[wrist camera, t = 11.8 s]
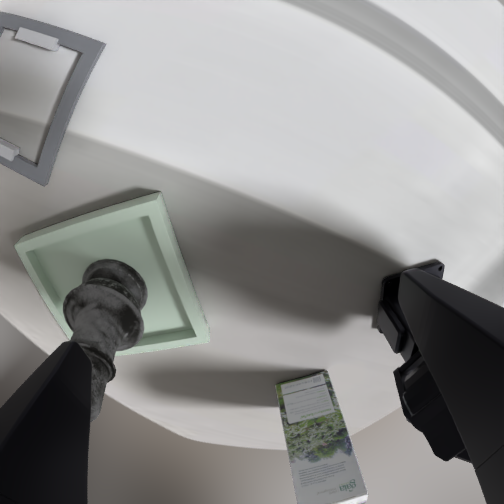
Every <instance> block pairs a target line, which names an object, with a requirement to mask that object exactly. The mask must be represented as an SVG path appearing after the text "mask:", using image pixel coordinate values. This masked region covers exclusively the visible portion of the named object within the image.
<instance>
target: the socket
mask: <svg viewBox="0 0 504 504" xmlns="http://www.w3.org/2000/svg"><path fill="white" fill-rule="evenodd" d="M4 28H9V29H13V30H16V31H18V32H17V34H16V36H15V39H19V40H22V41H25V42H28V43H31V44H34V45H37V46H40V47H43V48H46V49H49V50H53V51H57V50H58V48H59V46H60V45H63V46H66V47H68V48H71V49H74V50H77V51H79V52H82V55H81V57H80V59H79V61H78V63H77V65H76V67H75V69H74V71H73V74H72V76H71V78H70V80H69V82H68V84H67V87H66V89H65V91H64V94H63V96H62V98H61V101H60V103H59V106H58V108H57V111H56V113H55V116H54V118H53V121H52V124H51V126H50V129H49V132H48V135H47V138H46V141H45V144H44V147H43V150H42V153H41V156H40V160H39V163H38V164H36V163H34V162H32V161H30V160H28V159H26V158H24V157H22V156H20V155H18V153H19V149H20V148H19V147H17V146H15V145H13V144H11V143H9V142H7V141H5V140H3V139H1V138H0V163H1V164H2V165H4V166H6V167H8V168H10V169H12V170H14V171H16V172H17V173H19V174H21V175H23V176H25V177H27V178H29V179H31V180H33V181H34V182H36V183H38V184H40V185H42V186H44V187H45V186H46V185H47V184H48V181H49V178H50V175H51V171H52V168H53V165H54V162H55V159H56V156H57V153H58V150H59V147H60V144H61V142H62V139H63V136H64V133H65V131H66V128H67V126H68V123H69V121H70V118H71V116H72V113H73V111H74V108H75V106H76V104H77V102H78V99H79V97H80V95H81V93H82V90H83V88H84V86H85V84H86V82H87V80H88V78H89V76H90V74H91V72H92V70H93V68H94V66H95V64H96V62H97V60H98V58H99V56H100V55H101V53H102V51H103V49H104V47H105V46H106V44H105V43H102V42H100V41H97V40H94V39H92V38H89V37H86V36H83V35H81V34H78V33H75V32H72V31H69V30H66V29H63V28H60V27H57V26H53V25H50V24H47V23H43V22H40V21H36V20H33V19H29V18H25V17H21V16H17V15H13V14H9V13H4V12H0V37H1V34H2V32H3V30H4Z"/></svg>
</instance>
